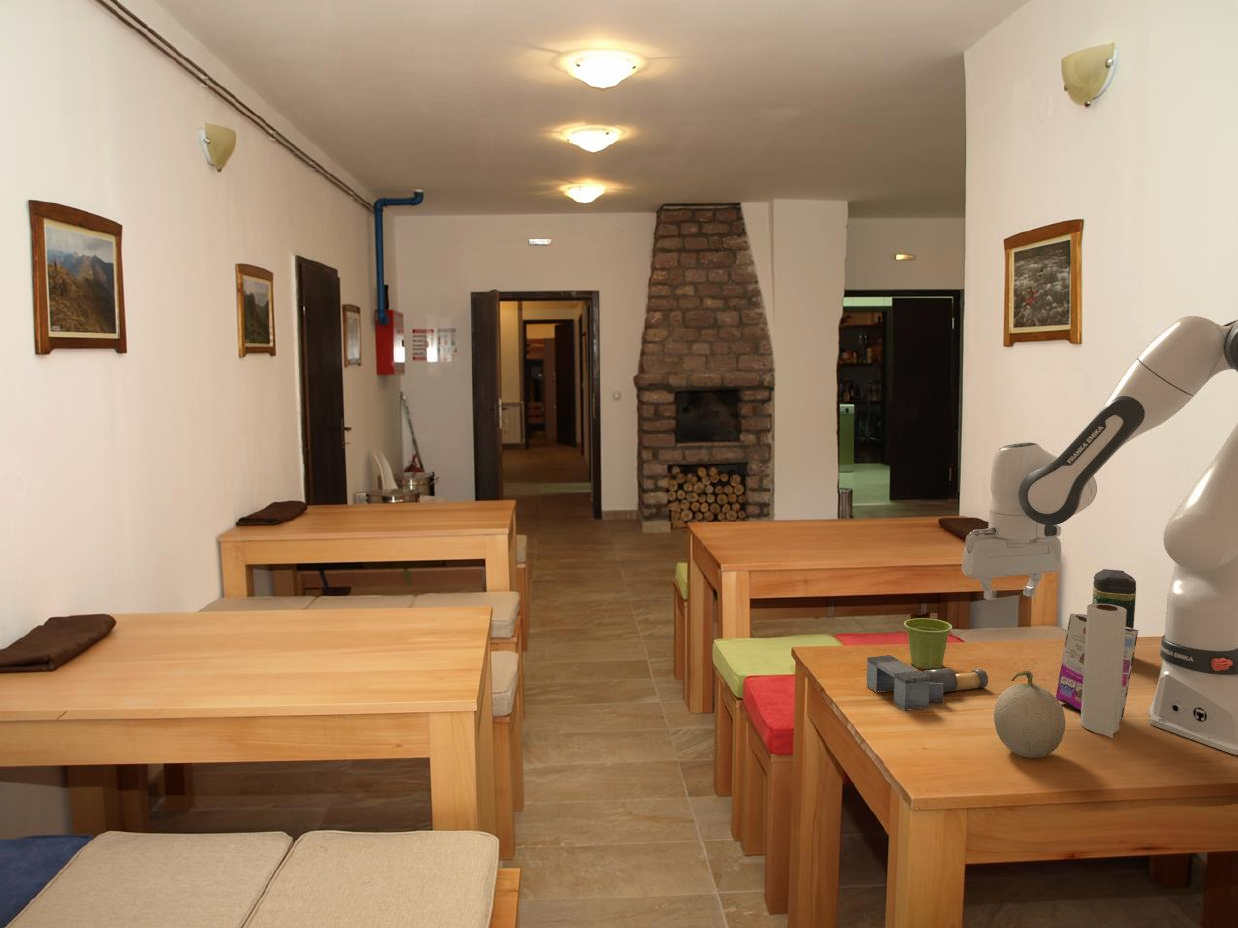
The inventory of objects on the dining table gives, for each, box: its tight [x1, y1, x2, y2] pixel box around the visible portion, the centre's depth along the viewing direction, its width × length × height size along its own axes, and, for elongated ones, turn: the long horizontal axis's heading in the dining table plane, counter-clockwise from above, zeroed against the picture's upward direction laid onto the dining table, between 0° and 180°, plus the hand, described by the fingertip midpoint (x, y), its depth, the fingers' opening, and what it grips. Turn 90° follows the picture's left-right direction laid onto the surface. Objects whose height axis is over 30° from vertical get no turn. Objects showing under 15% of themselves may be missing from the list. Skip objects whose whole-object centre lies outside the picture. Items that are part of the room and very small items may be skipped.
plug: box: [921, 667, 989, 693], centre depth 183 cm, size 12×4×4 cm, turn 107°
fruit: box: [993, 670, 1066, 759], centre depth 154 cm, size 10×12×15 cm
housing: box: [866, 654, 944, 711], centre depth 180 cm, size 13×9×6 cm
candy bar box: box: [1055, 613, 1139, 721], centre depth 172 cm, size 11×5×16 cm, turn 20°
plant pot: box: [903, 617, 953, 670], centre depth 197 cm, size 9×9×9 cm
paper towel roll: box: [1080, 603, 1127, 739], centre depth 164 cm, size 7×6×21 cm
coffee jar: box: [1091, 568, 1137, 629], centre depth 201 cm, size 10×8×19 cm
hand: (1009, 597), depth 185 cm, fingers open, 8 cm apart
